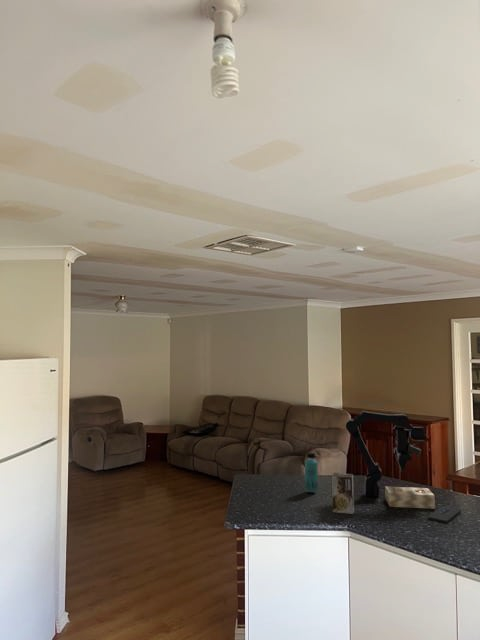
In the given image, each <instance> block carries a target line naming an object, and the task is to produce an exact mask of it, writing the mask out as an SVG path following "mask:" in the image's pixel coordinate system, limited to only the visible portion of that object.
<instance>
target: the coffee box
mask: <svg viewBox="0 0 480 640" xmlns="http://www.w3.org/2000/svg"><path fill="white" fill-rule="evenodd" d="M332 473H333V474H332V476H331V483H332V485H331V486H332V490H331V491H332V513H336V514H337V513H339V514H349V515H350V514H351V515H354V512H355V499H354V497H355V495H354V492H355V491H354V487H355V486H354V474H353V473H344V472H332Z"/></svg>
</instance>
